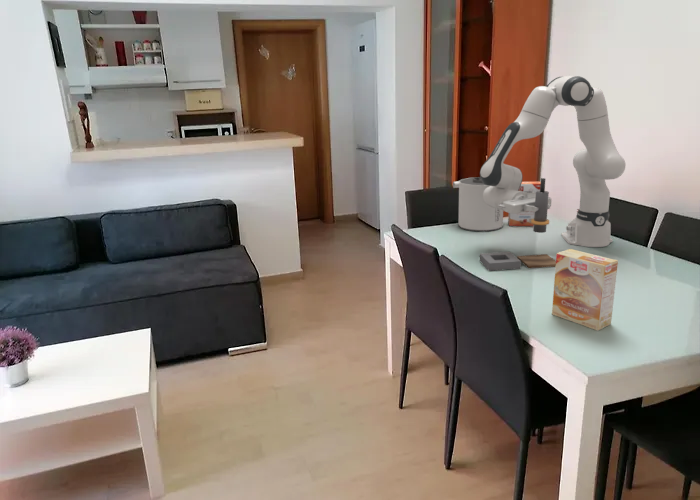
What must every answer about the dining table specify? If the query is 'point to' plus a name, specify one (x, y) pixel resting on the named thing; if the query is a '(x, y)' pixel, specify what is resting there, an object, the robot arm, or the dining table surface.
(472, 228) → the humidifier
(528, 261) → the pad
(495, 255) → the socket block
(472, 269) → the dining table surface
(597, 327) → the coffeecake box
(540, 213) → the plug
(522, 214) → the cracker box
